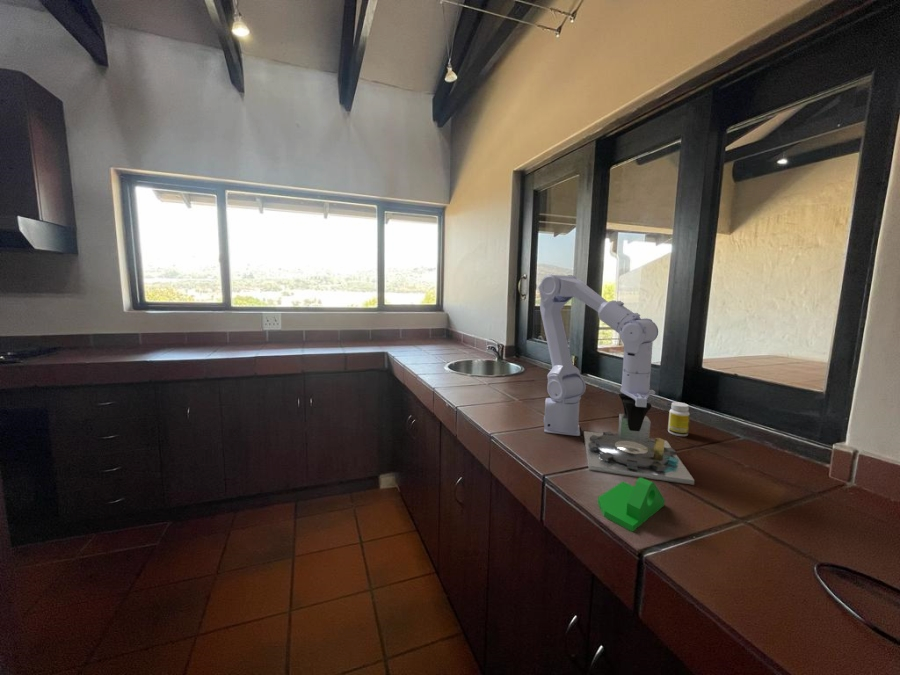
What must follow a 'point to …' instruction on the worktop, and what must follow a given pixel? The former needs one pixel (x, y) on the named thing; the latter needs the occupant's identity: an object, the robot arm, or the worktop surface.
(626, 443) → the sprocket
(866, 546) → the worktop surface
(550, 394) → the robot arm
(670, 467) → the base plate
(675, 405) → the supplement bottle
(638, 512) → the bracket
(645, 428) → the link block
